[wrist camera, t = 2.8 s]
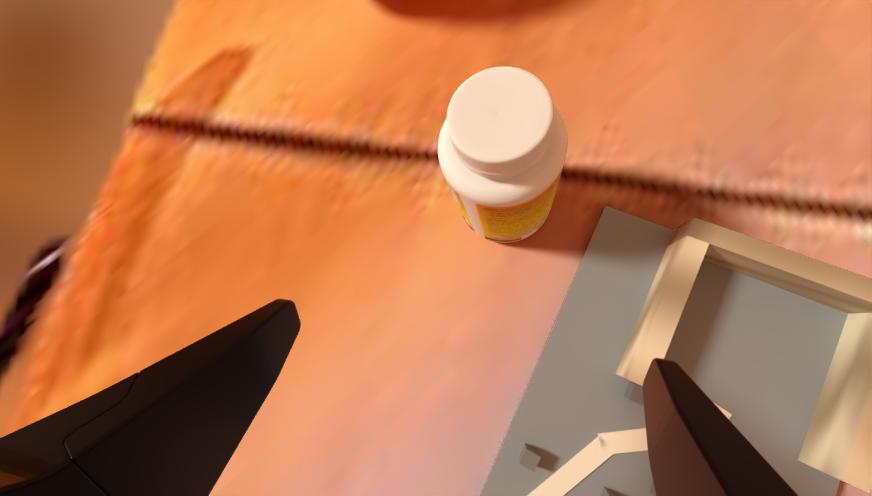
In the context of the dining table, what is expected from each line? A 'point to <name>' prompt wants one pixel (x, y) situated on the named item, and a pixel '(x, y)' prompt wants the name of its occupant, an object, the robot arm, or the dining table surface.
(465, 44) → the dining table surface
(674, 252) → the end holder
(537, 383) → the board
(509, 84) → the supplement bottle
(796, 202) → the dining table surface
